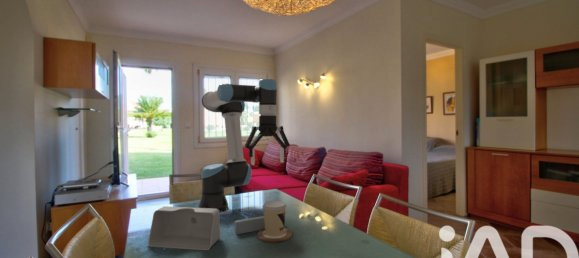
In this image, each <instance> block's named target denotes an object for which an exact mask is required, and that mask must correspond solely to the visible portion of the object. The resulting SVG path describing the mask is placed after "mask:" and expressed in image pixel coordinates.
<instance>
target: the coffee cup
mask: <svg viewBox="0 0 579 258" xmlns="http://www.w3.org/2000/svg"><path fill="white" fill-rule="evenodd" d="M262 207H263V216H264V223H265V233H266V235H268V236H271V237H277V236H281V235H283V234H284V228H286V225H285V224H286V207H287V205H286V202H285V201H282V200H269V201H265V202H264V203H263V205H262Z"/></svg>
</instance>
